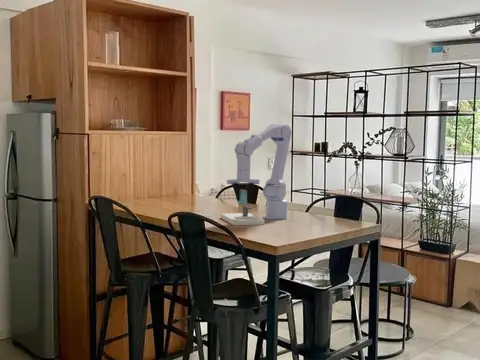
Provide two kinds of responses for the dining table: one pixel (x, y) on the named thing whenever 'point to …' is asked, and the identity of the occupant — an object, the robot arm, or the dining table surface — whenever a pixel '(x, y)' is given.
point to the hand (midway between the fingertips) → (242, 200)
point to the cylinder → (242, 197)
